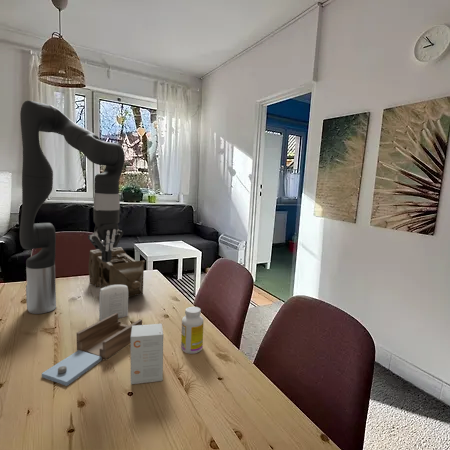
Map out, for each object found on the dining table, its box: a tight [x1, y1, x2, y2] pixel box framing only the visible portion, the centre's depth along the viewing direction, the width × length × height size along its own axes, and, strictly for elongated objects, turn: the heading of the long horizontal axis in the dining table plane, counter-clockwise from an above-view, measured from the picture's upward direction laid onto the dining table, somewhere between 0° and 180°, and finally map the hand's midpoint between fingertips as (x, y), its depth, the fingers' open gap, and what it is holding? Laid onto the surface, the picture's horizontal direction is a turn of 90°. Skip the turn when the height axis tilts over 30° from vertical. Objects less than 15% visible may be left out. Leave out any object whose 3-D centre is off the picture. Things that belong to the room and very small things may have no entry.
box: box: [76, 313, 143, 361], centre depth 96 cm, size 11×16×6 cm
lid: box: [41, 350, 103, 387], centre depth 82 cm, size 8×12×3 cm
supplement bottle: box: [180, 306, 204, 355], centre depth 94 cm, size 7×7×13 cm
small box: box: [130, 323, 164, 385], centre depth 80 cm, size 8×6×13 cm
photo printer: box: [98, 285, 129, 321], centre depth 113 cm, size 10×4×12 cm, turn 123°
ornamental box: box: [88, 246, 146, 298], centre depth 137 cm, size 35×18×18 cm, turn 41°
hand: (106, 261), depth 97 cm, fingers closed
